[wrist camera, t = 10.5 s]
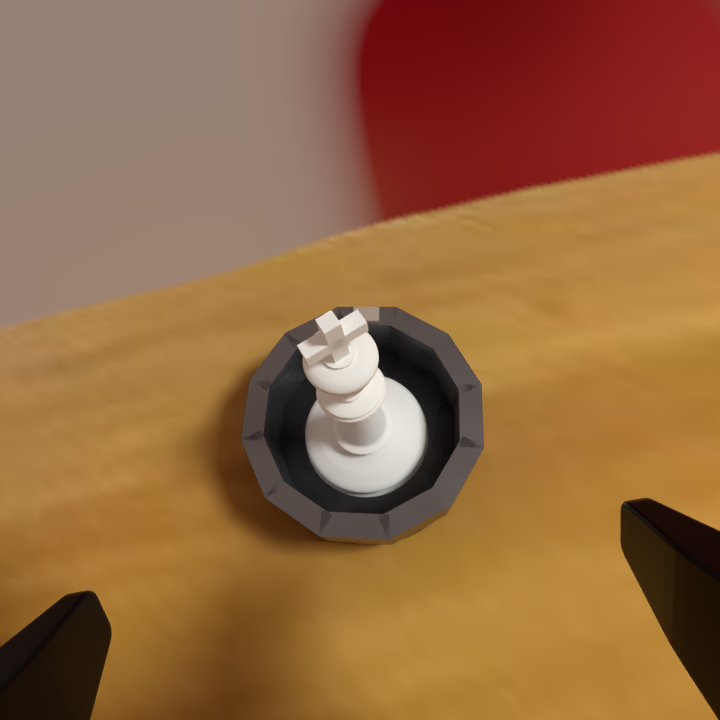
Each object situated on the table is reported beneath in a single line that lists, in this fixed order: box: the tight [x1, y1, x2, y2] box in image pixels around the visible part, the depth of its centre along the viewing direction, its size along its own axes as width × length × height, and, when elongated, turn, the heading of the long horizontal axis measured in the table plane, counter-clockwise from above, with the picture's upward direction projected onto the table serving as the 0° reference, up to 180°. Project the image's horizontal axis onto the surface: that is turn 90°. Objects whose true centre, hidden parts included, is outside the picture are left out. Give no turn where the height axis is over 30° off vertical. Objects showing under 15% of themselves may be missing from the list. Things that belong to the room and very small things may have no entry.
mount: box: [241, 307, 484, 545], centre depth 20 cm, size 9×9×4 cm
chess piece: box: [297, 309, 428, 497], centre depth 16 cm, size 5×5×10 cm
